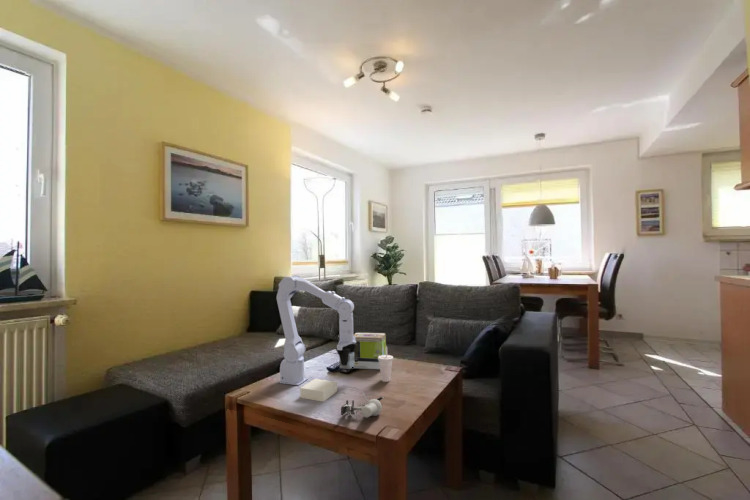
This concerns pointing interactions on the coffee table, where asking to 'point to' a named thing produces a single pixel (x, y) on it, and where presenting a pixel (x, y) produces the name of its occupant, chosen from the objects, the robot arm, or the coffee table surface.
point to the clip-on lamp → (363, 408)
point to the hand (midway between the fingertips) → (347, 363)
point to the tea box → (369, 350)
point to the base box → (318, 390)
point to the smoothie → (385, 366)
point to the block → (349, 361)
